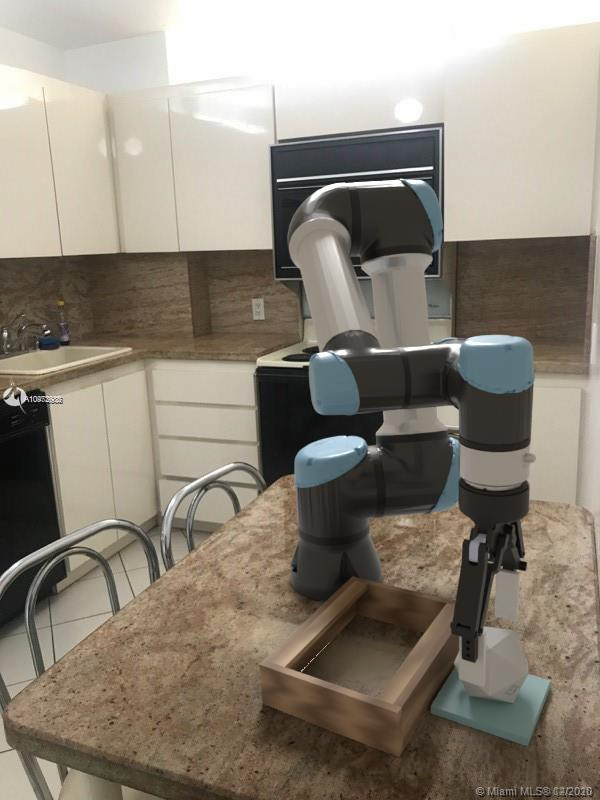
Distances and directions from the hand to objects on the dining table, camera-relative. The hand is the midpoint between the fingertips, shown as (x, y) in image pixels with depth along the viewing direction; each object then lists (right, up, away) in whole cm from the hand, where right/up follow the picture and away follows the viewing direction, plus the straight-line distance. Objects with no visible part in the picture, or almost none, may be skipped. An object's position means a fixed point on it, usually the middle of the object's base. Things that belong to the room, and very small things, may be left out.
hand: (490, 647), depth 78 cm
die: (0, -6, +1) cm, 6 cm away
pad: (0, -7, +1) cm, 7 cm away
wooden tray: (-13, -6, +8) cm, 16 cm away
